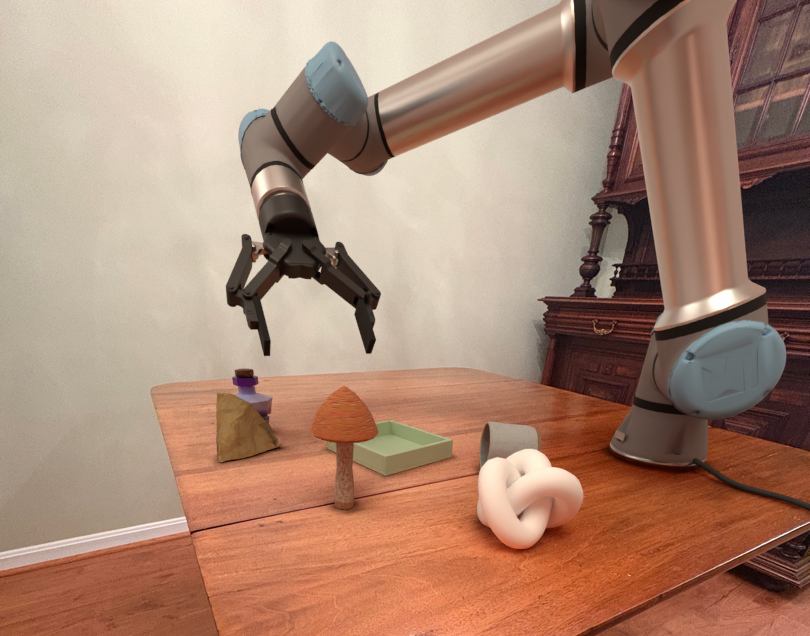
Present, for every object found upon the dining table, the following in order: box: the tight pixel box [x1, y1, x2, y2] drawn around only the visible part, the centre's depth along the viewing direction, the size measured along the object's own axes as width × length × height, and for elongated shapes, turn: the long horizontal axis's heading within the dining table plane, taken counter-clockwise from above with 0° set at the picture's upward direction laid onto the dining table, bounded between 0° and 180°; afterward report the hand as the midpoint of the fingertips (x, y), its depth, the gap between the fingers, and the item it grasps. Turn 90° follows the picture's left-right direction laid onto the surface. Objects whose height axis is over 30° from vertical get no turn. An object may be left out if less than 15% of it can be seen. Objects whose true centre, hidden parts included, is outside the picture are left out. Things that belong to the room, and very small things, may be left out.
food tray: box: [326, 419, 454, 477], centre depth 73 cm, size 17×15×3 cm
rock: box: [215, 392, 281, 464], centre depth 71 cm, size 11×9×10 cm
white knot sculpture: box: [476, 449, 584, 550], centre depth 48 cm, size 11×12×9 cm
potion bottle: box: [231, 368, 273, 424], centre depth 79 cm, size 9×9×12 cm
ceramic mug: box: [478, 420, 542, 469], centre depth 67 cm, size 11×8×8 cm
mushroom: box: [309, 385, 378, 510], centre depth 51 cm, size 8×8×15 cm
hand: (321, 348), depth 55 cm, fingers open, 13 cm apart
